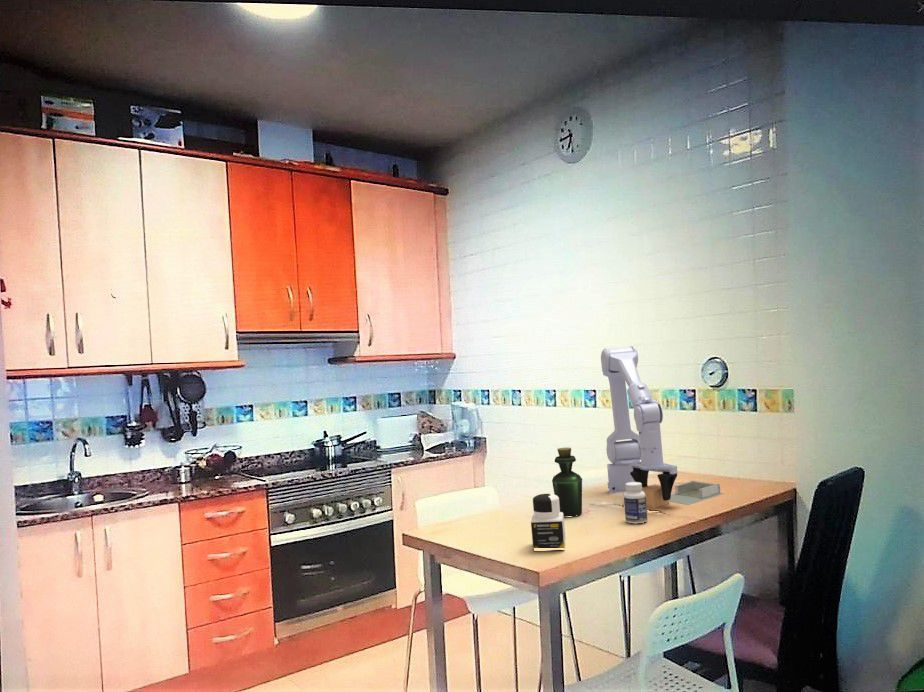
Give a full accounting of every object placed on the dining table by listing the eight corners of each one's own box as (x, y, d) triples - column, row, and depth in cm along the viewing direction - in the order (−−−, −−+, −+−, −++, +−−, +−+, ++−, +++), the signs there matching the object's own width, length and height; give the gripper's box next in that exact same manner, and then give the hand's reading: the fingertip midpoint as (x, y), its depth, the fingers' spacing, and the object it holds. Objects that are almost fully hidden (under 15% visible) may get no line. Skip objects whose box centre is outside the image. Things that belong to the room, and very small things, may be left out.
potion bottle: (555, 511, 188) (550, 447, 188) (585, 510, 187) (579, 445, 187) (554, 518, 180) (548, 451, 180) (585, 517, 179) (579, 450, 179)
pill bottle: (642, 525, 167) (639, 486, 167) (622, 523, 170) (619, 485, 170) (651, 520, 171) (647, 481, 171) (631, 518, 174) (627, 480, 174)
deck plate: (688, 509, 178) (688, 504, 178) (655, 503, 187) (655, 499, 187) (724, 497, 187) (724, 493, 187) (691, 492, 196) (691, 488, 196)
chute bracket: (702, 498, 183) (701, 489, 183) (675, 494, 191) (674, 485, 191) (720, 493, 188) (719, 484, 188) (693, 489, 195) (692, 480, 195)
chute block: (656, 513, 177) (654, 490, 177) (641, 510, 181) (639, 488, 181) (670, 508, 181) (668, 486, 181) (656, 506, 185) (654, 484, 185)
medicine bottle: (533, 552, 153) (528, 499, 153) (535, 543, 160) (531, 492, 160) (564, 551, 151) (560, 498, 151) (565, 542, 158) (561, 491, 158)
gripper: (620, 448, 185) (624, 497, 185) (663, 451, 173) (667, 504, 173) (637, 444, 189) (641, 492, 189) (680, 447, 177) (685, 499, 177)
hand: (655, 498), depth 181 cm, fingers open, 7 cm apart
